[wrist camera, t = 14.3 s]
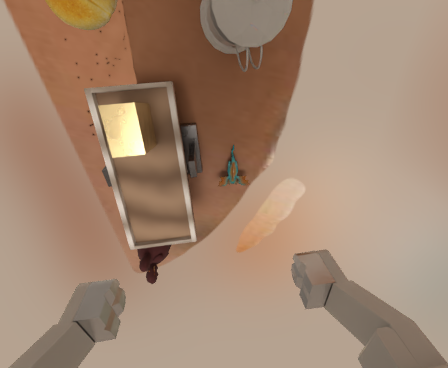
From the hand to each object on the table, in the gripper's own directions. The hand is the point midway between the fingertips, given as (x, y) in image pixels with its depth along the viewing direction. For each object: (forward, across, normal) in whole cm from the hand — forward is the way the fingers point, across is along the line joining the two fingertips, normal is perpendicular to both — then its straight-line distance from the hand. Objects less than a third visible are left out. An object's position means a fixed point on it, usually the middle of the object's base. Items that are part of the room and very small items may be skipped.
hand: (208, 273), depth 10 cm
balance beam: (+26, +9, +8) cm, 29 cm away
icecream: (+34, +13, +26) cm, 45 cm away
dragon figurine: (+34, -6, +8) cm, 36 cm away
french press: (+34, -7, -12) cm, 37 cm away
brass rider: (+26, +9, 0) cm, 28 cm away
